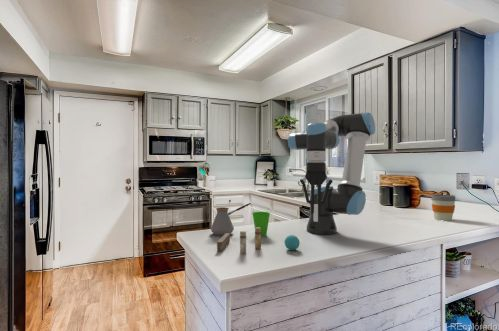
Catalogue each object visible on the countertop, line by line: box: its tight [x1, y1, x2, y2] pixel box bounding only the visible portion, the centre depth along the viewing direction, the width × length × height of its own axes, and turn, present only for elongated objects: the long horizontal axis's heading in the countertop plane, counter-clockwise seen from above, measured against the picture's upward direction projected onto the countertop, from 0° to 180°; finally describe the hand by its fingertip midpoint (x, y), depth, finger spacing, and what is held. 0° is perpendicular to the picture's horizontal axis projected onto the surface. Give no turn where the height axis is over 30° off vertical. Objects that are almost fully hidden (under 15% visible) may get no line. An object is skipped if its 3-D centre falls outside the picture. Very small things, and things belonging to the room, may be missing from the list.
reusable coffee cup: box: [430, 193, 457, 222], centre depth 175 cm, size 13×13×15 cm
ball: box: [284, 234, 301, 251], centre depth 114 cm, size 6×6×6 cm
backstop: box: [216, 233, 231, 253], centre depth 119 cm, size 2×14×4 cm, turn 171°
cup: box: [251, 210, 271, 237], centre depth 137 cm, size 9×9×11 cm
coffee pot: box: [210, 202, 253, 236], centre depth 142 cm, size 21×12×15 cm, turn 108°
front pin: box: [254, 227, 262, 250], centre depth 117 cm, size 2×2×8 cm
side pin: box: [239, 230, 247, 255], centre depth 110 cm, size 2×2×8 cm
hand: (315, 220), depth 113 cm, fingers closed
